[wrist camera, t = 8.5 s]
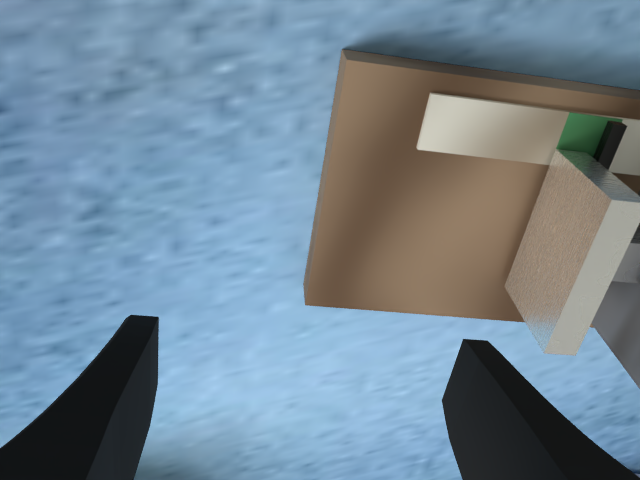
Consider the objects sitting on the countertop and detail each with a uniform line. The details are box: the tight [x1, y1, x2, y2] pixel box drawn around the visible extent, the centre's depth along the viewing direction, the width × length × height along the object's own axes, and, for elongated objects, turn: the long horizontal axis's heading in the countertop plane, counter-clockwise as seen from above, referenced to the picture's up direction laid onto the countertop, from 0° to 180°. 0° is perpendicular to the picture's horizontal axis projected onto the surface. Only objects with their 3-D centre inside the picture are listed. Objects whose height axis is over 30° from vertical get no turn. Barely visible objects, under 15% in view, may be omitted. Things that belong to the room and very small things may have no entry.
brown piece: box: [303, 49, 640, 388], centre depth 21 cm, size 20×10×6 cm, turn 82°
